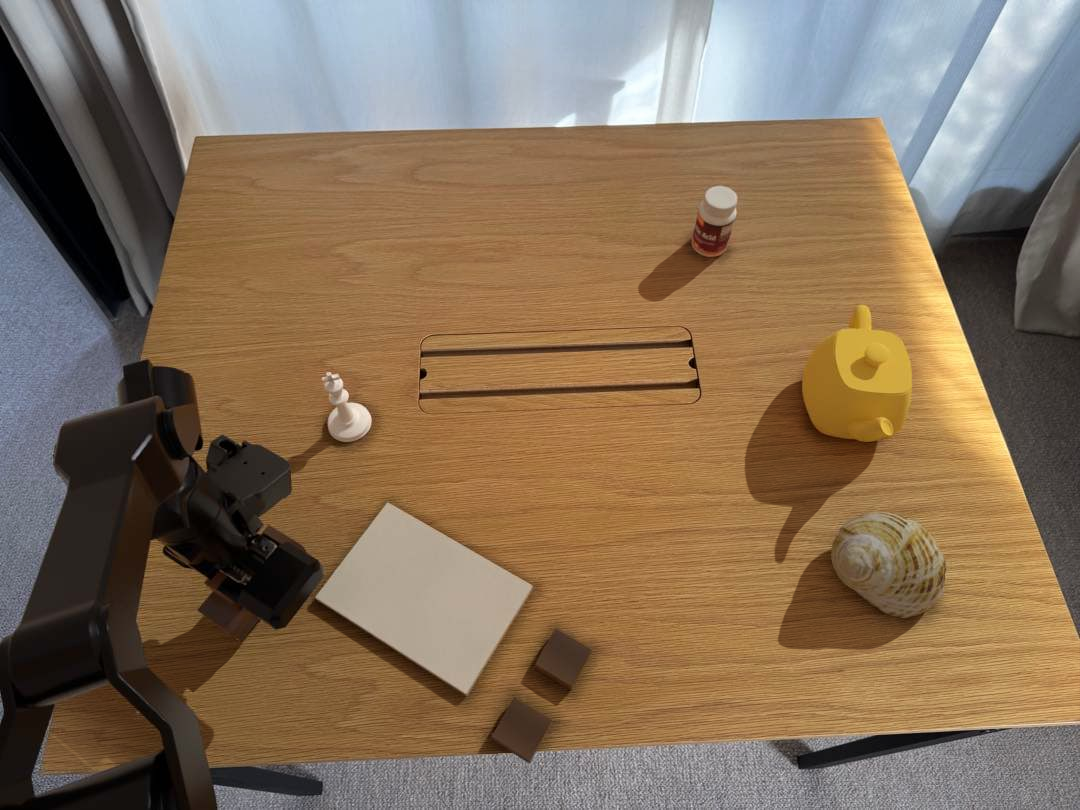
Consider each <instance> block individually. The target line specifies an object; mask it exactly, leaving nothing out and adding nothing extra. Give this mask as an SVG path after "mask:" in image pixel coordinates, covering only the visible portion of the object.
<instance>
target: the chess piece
mask: <svg viewBox="0 0 1080 810" xmlns="http://www.w3.org/2000/svg"><path fill="white" fill-rule="evenodd" d="M321 380H322V383H323V389H324V391H325V392H326V393H327V394H328V401H329V403H330V404H331V405H333V406H335V408H334V409H333V410H332V411H331V412H330V414H329V416H328V418H327V428H328V432H329V434H330V436H331V437H332V438H334V439H335V440H337V441H339V442H342V443H351V442H357V441H358V440H360V439H362V438H363V437H364V436H366V434H367V433H368V432H369V431H370V429H371V427H372V420H373V419H372V415H371V413H370V412H369V410H368V409H367V408H366V407H365V406H364V405H362V404H360V403H359V402H358V403H357V402H348V401H349V397H350V395H349V392H348V390H346V389H344V381H343V380H342V379H341V377H340V375H339V373H335V374H332V371H327V372H326V376H322V377H321Z"/></svg>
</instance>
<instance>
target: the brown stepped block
mask: <svg viewBox="0 0 1080 810" xmlns="http://www.w3.org/2000/svg"><path fill="white" fill-rule="evenodd" d="M263 533H265V534H266V535H268V536H270V537H271V538H273V539H274V540H276V541H278V542H279V543H281V544H283V543H285V542H287V541H288V542H290V543H291V544H293V545H294V546H296V547H298V548H299V549H301V550H303V551H304V552H306V553H307V549H306V548H305V547H304V545H303V544H301V543H299V542H298V541H296V540H295V539H293V538H291V537H290V536H288V535H287V534H285V533H283V532H281V531H280V530H278V529H277V528H275V527H273V526H272V525H270V524H268V525H267V526H265V528H264V530H263V531H261V533H259V534H260V535H262V534H263ZM249 536H251V535H249ZM245 548H247V547H245ZM247 549H248V548H247ZM307 554H308V553H307ZM226 577H227V575H225V574H224V573H222V572H221V571H218V572H217V574H216V575H215V576H214V577H213V578H212V579H211V581H210V580H209V579H207V578H206V579H205V581H204V582H203V584H204V585H205V586H206V587H207V588H209V589H210V590H211V593H210V594H209V595H208V597H206V599H205V600H204V601H203V602H202V603H201V605H200V606H199V607H198V608H197V610H196V611H197V612H198V613H200V614H201V615H202V616H203V617H205V618H206V619H207V620H209V621H210V622H211V623H213V624H214V625H216V626H217V627H219V628H220V629H222V630H223V631H225V632H226V633H227V634H229V635H231V636H232V637H233V638H235V639H236V640H238V641H239V642H242V641H243V640H244V638H245V637H247V635H248V633H250V631H251V630H252V629H253V627H254V626H256V624H257V622H258V621H259V620H260V619H259V618H257V617H256V616H254V615H253V614H251V613H250V612H249V611H247V610H246V609H245V608H243V607H242V606H241V605H240V604H238V603H236V602H234V601H233V600H231V599H230V598H228V597H227V596H225V595H224V594H222V593H221V592H219V591H218V590H217V588H218V587H219V585H220V584H221V583H222V582H223V581H224V579H225V578H226Z"/></svg>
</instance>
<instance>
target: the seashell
mask: <svg viewBox="0 0 1080 810" xmlns="http://www.w3.org/2000/svg"><path fill="white" fill-rule="evenodd" d="M831 545H832V546H831V552H830V553H831V555H830V556H831V563H832V567H833V570H834V572H835V573H836V576H837V577H838V578H839V579H840V581H841V582H842V583H843V584H844V585H845V586H847V587H848V588H850V589H851V590H854V591H855V592H856V593H857V594H858V595H859V596H860V597H862V598H863V599H864V600H866V601H867V602H868V603H869V604H871V605H872V606H873V607H875V608H877V609H878V610H879V611H881V612H883V613H884V614H887V615H888V616H889V615H890V616H892V617H895V618H900V619H906V618H913V617H916V616H919V615H920V614H922V613H925V611H927V610H929V609H931V608H932V607H933V606H934V605H935V604H936V603H937V602H938V601H939V600H940V598H941V597H942V596H943V594H944V591H945V585H946V584H945V583H946V572H947V561H946V558H945V555H944V554H943V553H942V551H941V548H940V546H939V544H938V543H937V541H936V539H935V538H934V537H933V535H932V534H931V533H930V532H929V531H928V530H927V529H926V528H925V527H924V526H923V525H922V524H921V523H920V522H918V521H916V520H911V519H909V518H907V517H905V516H903V515H900V514H897V513H894V512H888V511H870V512H865V513H863V514H860V515H857V516H855V517H853V518H852V519H850V520H848V521H847V522H846V523H844V524H843V525H842V526H841V527H840V528H839V530H838V533H837V534H836V536H835V537H834V539H833V542H832V544H831Z"/></svg>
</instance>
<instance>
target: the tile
mask: <svg viewBox="0 0 1080 810" xmlns="http://www.w3.org/2000/svg"><path fill="white" fill-rule="evenodd" d="M533 589H534V587H533V584H530V583H528V582H527V581H525V580H524V579H522V578H520V577H518V576H517V575H515V574H513V573H511V572H509V571H508V570H506V569H505V568H503V567H502V566H501V567H500V566H499V565H498V564H496V563H494V562H492V561H491V560H489V559H487V558H486V557H484V556H482V555H480V554H478V553H476V552H475V551H473V550H472V549H470V548H468V547H467V546H464V545H463V544H461V543H460V542H457V541H456V540H454V539H452V538H450V537H449V536H447V535H445V534H444V533H442V532H440V531H438V530H437V529H435V528H433V527H431V526H430V525H428V524H427V523H425V522H423V521H421V520H420V519H418V518H416V517H414V516H413V515H411V514H410V513H407V512H405V511H404V510H402V509H400V508H398V507H397V506H395V505H393V504H392V503H390V502H388V501H387V502H386V504H385V505H384V506H383V507H382V509H381V510H380V511H379V513H378V514H377V515H376V517H375V518H373V520H372V522H370V524H369V525H368V527H367V528H366V529H365V531H364V532H363V533H362V535H360V537H359V539H358V540H357V541H356V542H355V544H354V545H353V546H352V548H351V549H350V550H349V552H348V553H347V554H346V556H345V557H344V558H343V560H342V561H341V563H340V564H339V565H338V566H337V568H336V569H335V570H334V572H333V573H332V574H331V575H330V576H329V578H328V579H327V580H326V582H325V583H324V584H323V586H322V587H321V588H320V589H319V591H318V593H317V594H316V595H315V596H314V598H315V600H316V601H317V602H318V603H320V604H321V605H323V606H325V607H326V608H328V609H329V610H331V611H332V612H334V613H336V614H337V615H339V616H340V617H342V618H343V619H345V620H347V621H348V622H350V623H351V624H353V625H354V626H356V627H357V628H359V629H361V630H362V631H363V632H366V633H367V634H368V635H370V636H372V637H373V638H374V639H377V640H378V641H379V642H381V643H383V645H386V646H387V647H389V648H390V649H392V650H393V651H395V652H396V653H398V654H400V655H401V656H403V657H404V658H406V659H407V660H409V661H411V662H412V663H414V664H415V665H416V666H419V668H421V669H423V670H424V671H426V672H427V673H429V674H431V675H432V676H434V677H436V678H437V679H439V680H440V681H441V682H443V683H445V684H446V685H448V686H449V687H451V688H453V689H454V690H455V691H457V692H459V693H460V694H462V695H463V696H465V697H469V694H470V693H471V692H472V689H473V688H474V687H475V684H476V682H477V681H478V680H479V678H480V676H481V675H482V672H483V671H484V670H485V669H486V667H487V666H488V663H489V661H490V660H491V658H492V656H493V655H494V654H495V652H496V651H497V649H498V647H499V645H500V644H501V642H502V640H503V639H504V637H505V635H507V632H508V631H509V629H510V627H511V626H512V624H513V623H514V621H515V619H516V617H517V616H518V614H519V612H520V611H521V610H522V608H523V606H524V605H525V603H526V601H527V599H528V598H529V597H530V595H531V593H532V592H533Z"/></svg>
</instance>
